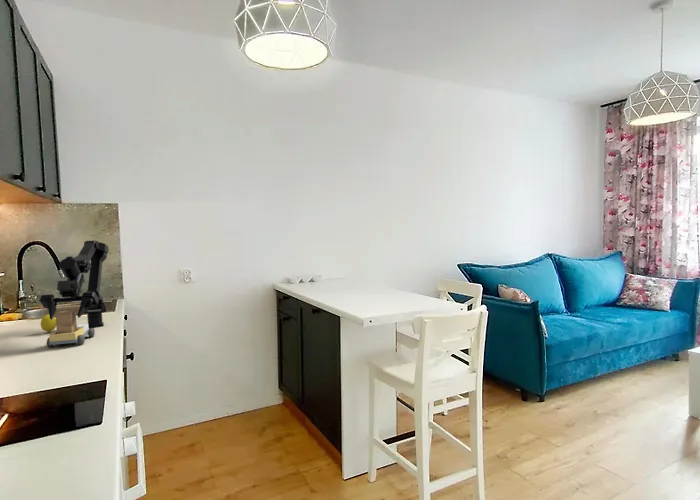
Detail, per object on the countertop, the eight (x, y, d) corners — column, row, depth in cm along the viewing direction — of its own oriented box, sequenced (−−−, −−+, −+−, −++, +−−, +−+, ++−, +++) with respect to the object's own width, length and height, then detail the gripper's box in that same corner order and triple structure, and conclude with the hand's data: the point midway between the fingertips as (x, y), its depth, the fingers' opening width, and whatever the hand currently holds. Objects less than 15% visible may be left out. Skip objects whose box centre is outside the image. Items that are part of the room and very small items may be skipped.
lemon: (60, 330, 185) (58, 312, 184) (50, 334, 180) (48, 315, 179) (48, 330, 186) (47, 312, 185) (38, 334, 180) (36, 315, 180)
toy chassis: (64, 337, 173) (63, 325, 173) (95, 335, 176) (94, 322, 175) (45, 349, 157) (44, 335, 157) (80, 346, 160) (79, 332, 160)
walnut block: (62, 336, 164) (61, 310, 164) (77, 335, 166) (75, 309, 165) (57, 339, 160) (55, 313, 159) (72, 338, 161) (70, 312, 160)
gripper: (39, 273, 163) (27, 307, 153) (93, 271, 167) (85, 304, 157) (50, 291, 171) (39, 324, 161) (101, 288, 175) (94, 320, 165)
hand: (64, 318), depth 161 cm, fingers open, 9 cm apart
